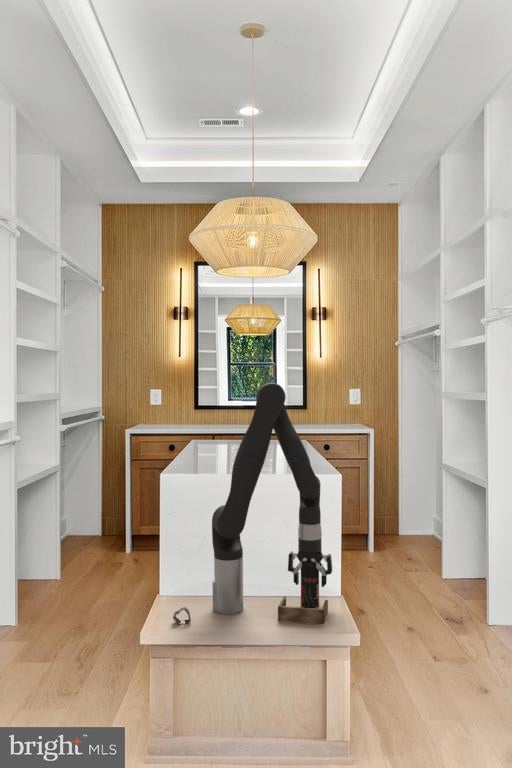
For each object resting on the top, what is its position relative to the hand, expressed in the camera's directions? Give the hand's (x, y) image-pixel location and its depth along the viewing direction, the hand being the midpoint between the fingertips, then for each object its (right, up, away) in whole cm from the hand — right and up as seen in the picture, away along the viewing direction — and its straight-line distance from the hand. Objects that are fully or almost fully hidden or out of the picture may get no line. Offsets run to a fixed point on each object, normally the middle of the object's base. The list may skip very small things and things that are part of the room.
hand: (310, 585), depth 215 cm
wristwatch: (-40, -8, -13) cm, 43 cm away
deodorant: (0, -7, 0) cm, 7 cm away
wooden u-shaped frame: (-3, -7, -10) cm, 12 cm away
